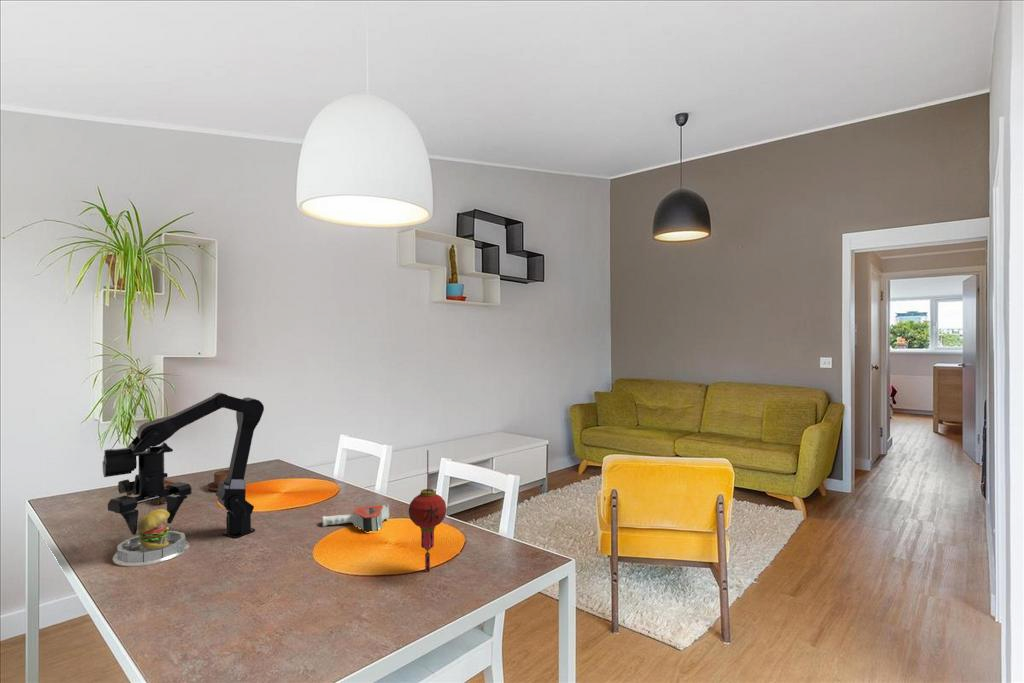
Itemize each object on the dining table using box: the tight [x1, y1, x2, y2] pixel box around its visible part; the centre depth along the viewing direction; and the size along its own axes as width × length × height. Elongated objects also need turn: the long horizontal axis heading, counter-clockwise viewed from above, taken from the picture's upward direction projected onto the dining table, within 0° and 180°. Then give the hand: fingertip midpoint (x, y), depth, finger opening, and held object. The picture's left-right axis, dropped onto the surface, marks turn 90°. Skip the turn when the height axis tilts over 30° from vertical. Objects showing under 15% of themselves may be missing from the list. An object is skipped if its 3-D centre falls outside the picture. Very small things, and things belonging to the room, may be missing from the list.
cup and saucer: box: [206, 469, 229, 492], centre depth 205 cm, size 12×12×6 cm
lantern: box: [408, 450, 448, 573], centre depth 135 cm, size 10×10×30 cm
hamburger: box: [137, 506, 170, 550], centre depth 146 cm, size 8×7×12 cm
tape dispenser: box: [321, 504, 390, 532], centre depth 168 cm, size 18×5×20 cm
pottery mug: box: [149, 479, 176, 506], centre depth 189 cm, size 12×10×8 cm
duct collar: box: [112, 530, 190, 568], centre depth 146 cm, size 17×17×3 cm
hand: (152, 528), depth 146 cm, fingers open, 9 cm apart
